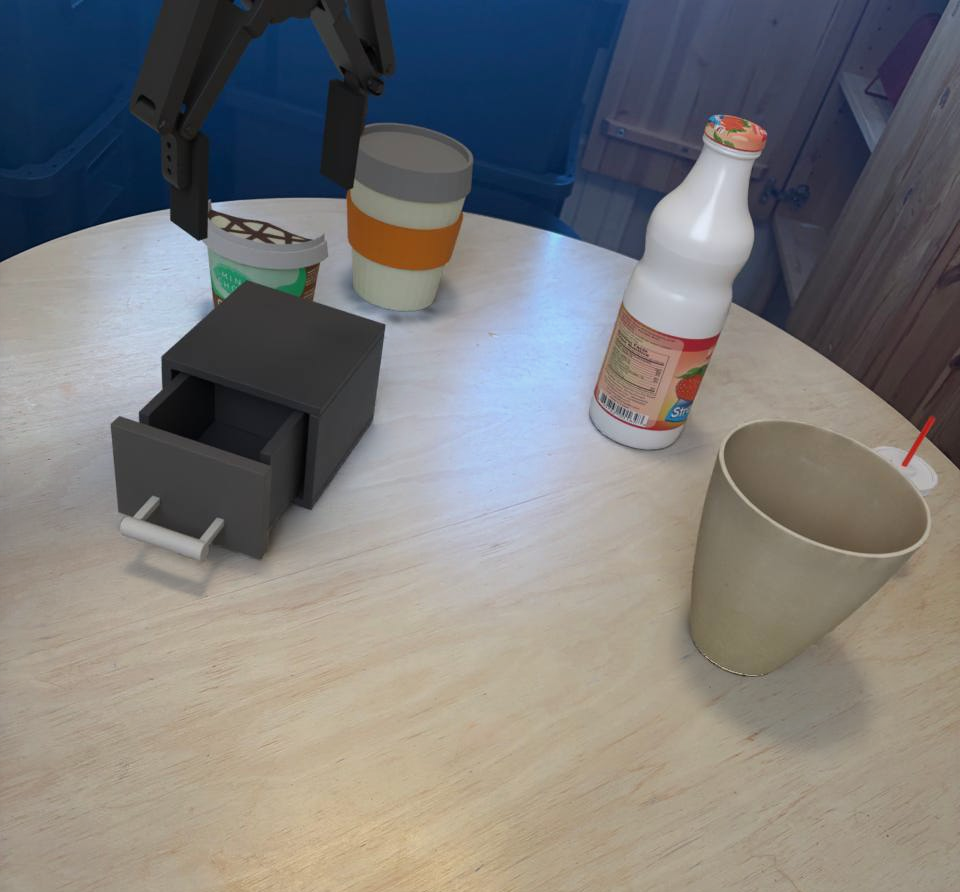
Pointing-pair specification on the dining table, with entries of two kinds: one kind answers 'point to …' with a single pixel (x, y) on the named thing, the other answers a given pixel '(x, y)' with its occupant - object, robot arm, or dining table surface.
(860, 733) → the dining table surface
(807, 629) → the plant pot
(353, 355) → the cabinet
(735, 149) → the fruit juice
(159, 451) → the drawer
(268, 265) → the food container
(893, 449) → the beverage cup
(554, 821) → the dining table surface
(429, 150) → the reusable coffee cup
